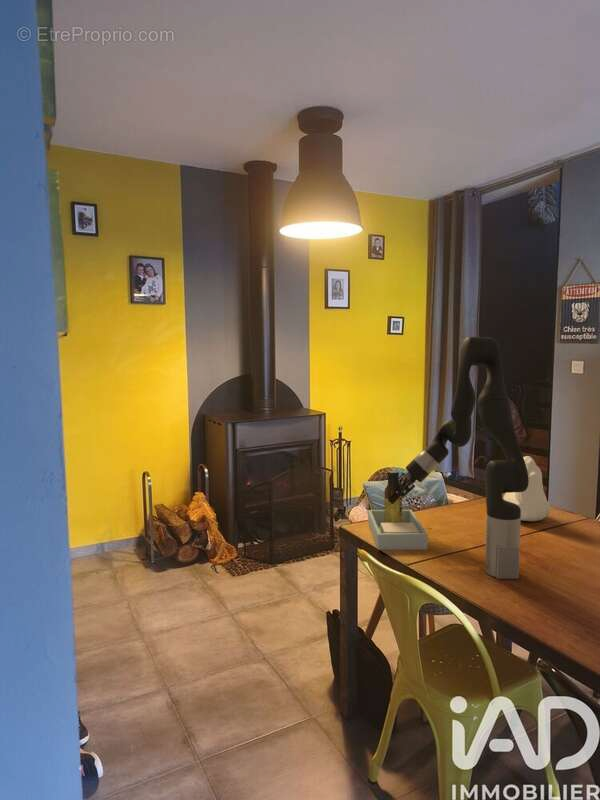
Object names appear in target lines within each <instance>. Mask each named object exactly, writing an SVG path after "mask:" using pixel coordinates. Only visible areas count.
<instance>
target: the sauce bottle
mask: <svg viewBox="0 0 600 800" xmlns="http://www.w3.org/2000/svg"><path fill="white" fill-rule="evenodd" d="M386 472H387V473H386V476H387V485H386V487H385V488H384V498H383V499H384V503H383V504H384V510H385V523H402V510H403V497H399V498H398V499H397V500H396V501H395V502H394V503H393V504H391V503H390V502H389V500H388V499H389V498H390V497H391V496H392V495H393V494H394V493H396V491H397V489H398V488H399V487H398V486H399V482H398V477H399V476H400V474H399V471H398V470H388V471H386Z"/></svg>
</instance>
